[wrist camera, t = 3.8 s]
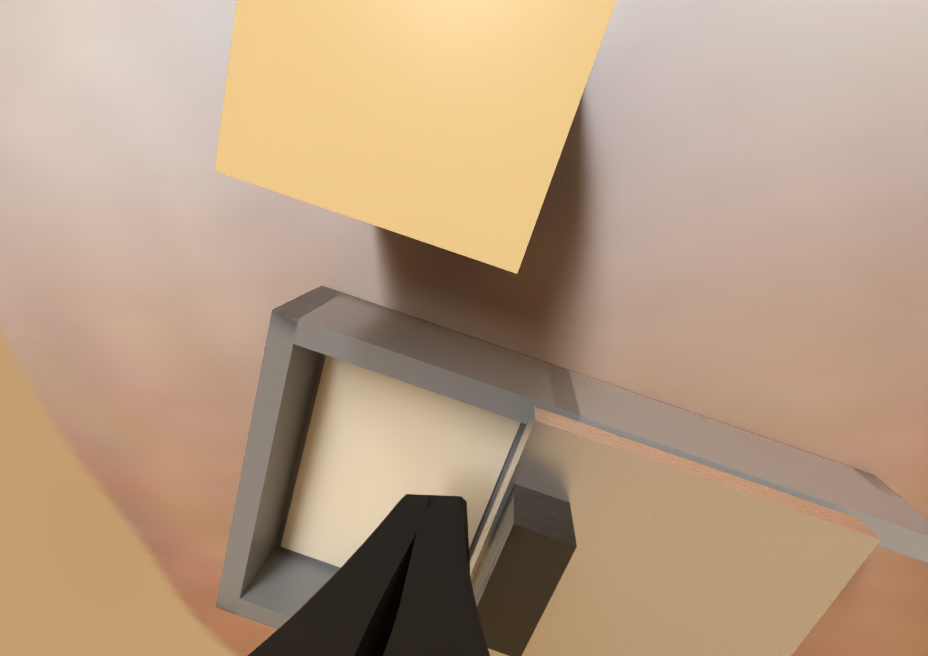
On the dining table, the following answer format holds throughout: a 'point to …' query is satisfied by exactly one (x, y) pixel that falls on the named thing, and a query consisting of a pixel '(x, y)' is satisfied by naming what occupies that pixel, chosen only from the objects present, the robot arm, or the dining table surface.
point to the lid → (650, 553)
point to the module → (411, 110)
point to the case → (448, 444)
